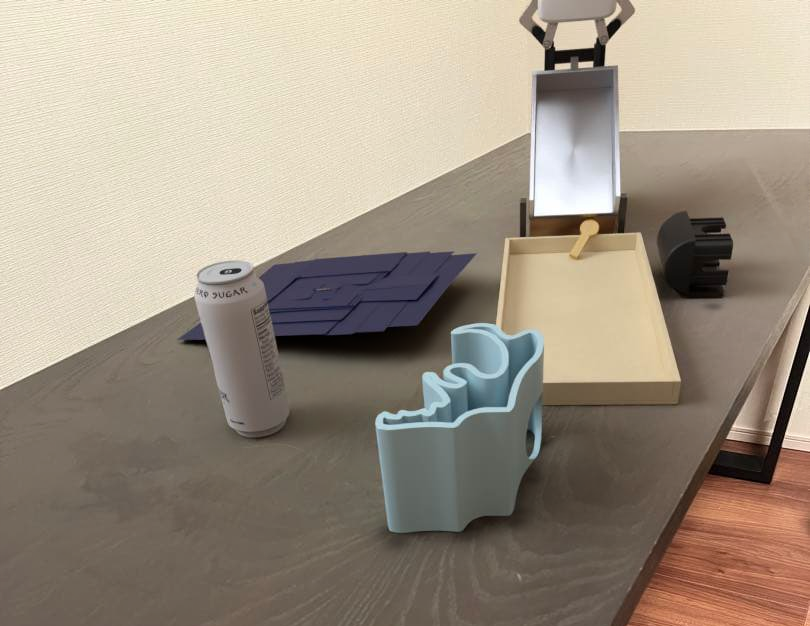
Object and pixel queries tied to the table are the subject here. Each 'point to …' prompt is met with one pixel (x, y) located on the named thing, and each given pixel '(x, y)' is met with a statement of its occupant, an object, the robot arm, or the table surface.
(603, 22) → the robot arm
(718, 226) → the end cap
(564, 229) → the dish stand
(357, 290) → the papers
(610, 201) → the dish
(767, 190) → the table surface
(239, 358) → the energy drink can
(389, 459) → the squiggly pen holder
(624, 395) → the tray
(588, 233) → the key
